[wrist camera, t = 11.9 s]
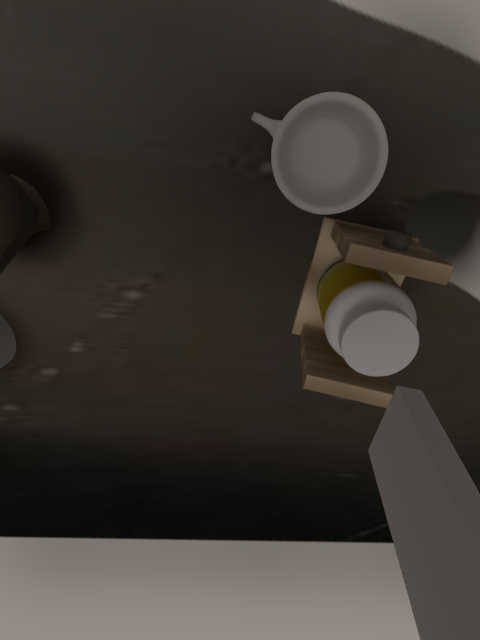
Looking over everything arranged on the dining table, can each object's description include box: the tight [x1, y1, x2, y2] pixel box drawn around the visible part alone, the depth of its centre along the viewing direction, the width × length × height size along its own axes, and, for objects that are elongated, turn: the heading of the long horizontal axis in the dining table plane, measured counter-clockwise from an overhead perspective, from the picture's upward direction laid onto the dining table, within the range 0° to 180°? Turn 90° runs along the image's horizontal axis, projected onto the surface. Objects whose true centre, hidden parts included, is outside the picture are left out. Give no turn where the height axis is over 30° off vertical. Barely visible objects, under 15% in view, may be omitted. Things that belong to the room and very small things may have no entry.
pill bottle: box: [317, 258, 419, 376], centre depth 28 cm, size 6×6×11 cm
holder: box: [292, 216, 454, 408], centre depth 29 cm, size 13×8×10 cm, turn 169°
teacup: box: [251, 92, 388, 215], centre depth 27 cm, size 10×8×5 cm
